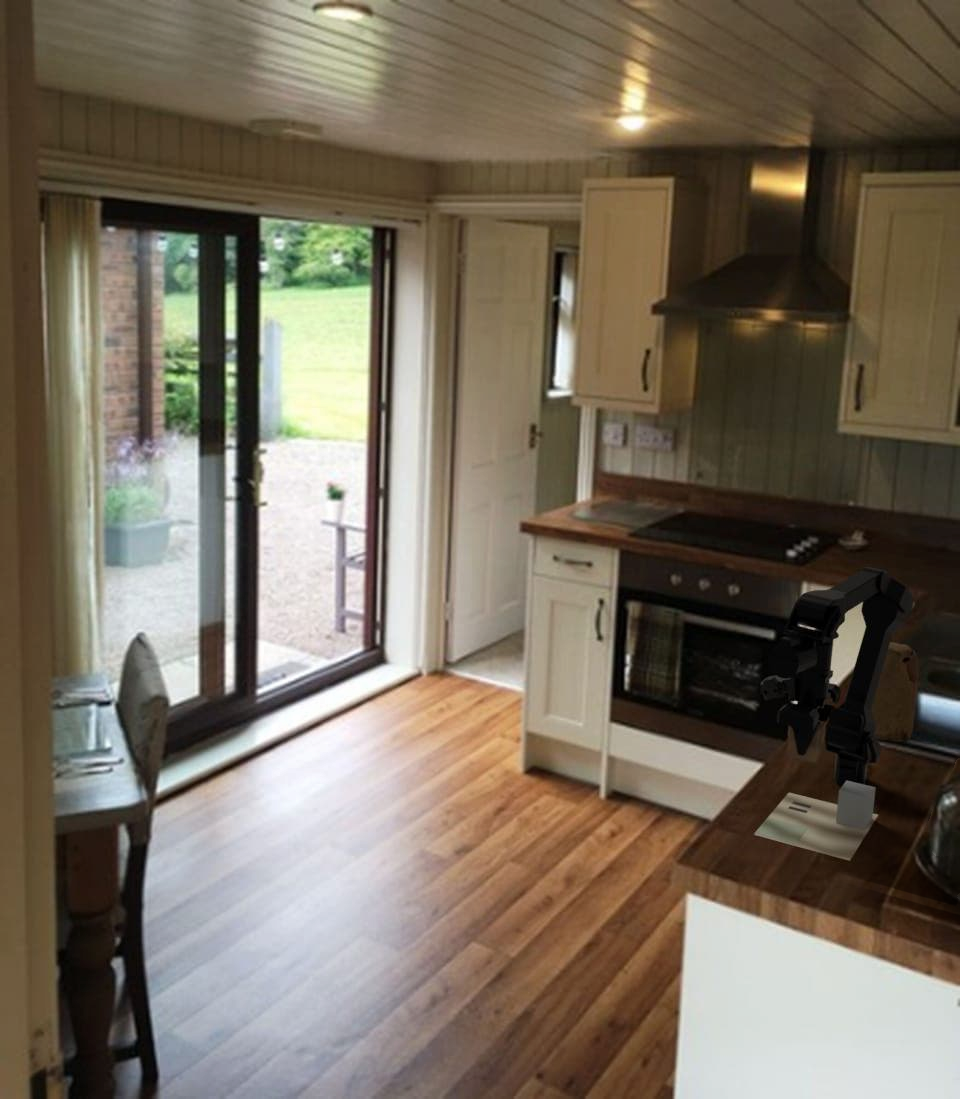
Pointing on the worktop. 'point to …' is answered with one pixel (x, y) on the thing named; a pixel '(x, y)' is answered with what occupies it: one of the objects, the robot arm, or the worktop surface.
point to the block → (896, 694)
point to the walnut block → (814, 748)
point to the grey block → (855, 805)
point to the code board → (812, 827)
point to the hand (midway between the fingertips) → (805, 749)
